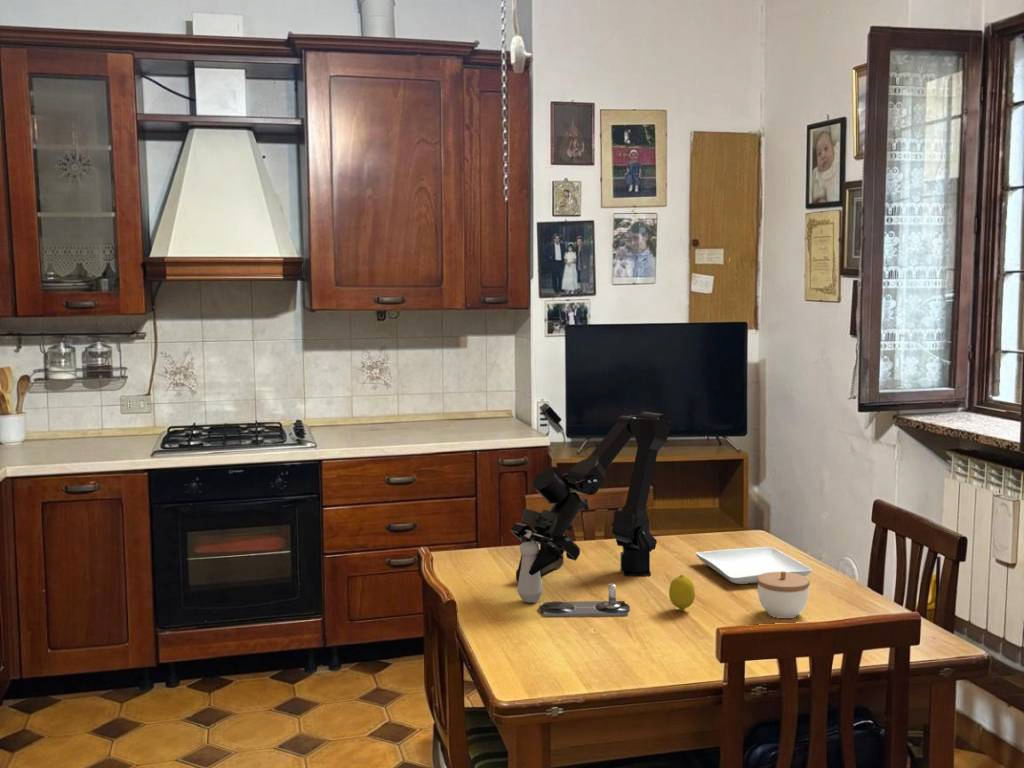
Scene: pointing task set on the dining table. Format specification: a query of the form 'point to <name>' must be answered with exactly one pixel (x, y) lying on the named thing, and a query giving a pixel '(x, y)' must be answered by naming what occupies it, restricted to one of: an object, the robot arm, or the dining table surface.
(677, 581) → the lemon
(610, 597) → the fixed steel pin
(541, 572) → the hand tool
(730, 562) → the salad plate
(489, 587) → the dining table surface
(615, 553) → the dining table surface
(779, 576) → the lidded jar
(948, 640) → the dining table surface
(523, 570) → the salt shaker
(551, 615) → the plate
